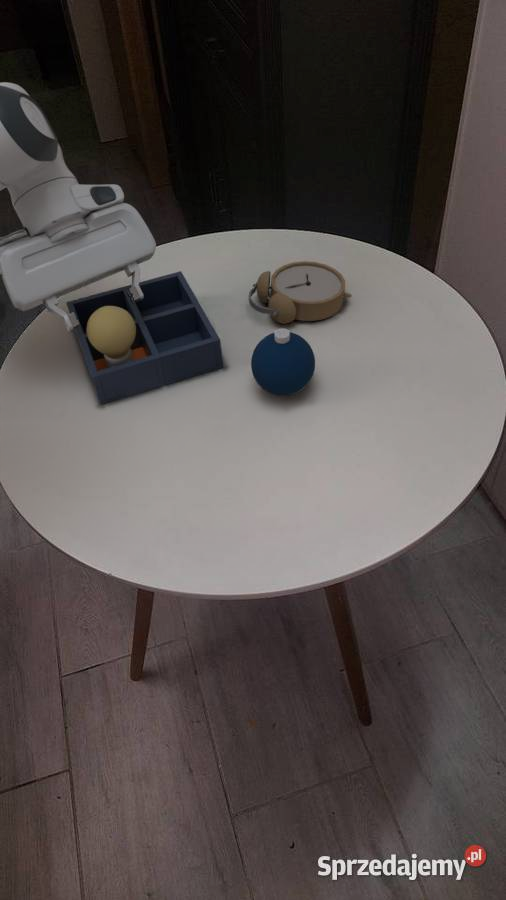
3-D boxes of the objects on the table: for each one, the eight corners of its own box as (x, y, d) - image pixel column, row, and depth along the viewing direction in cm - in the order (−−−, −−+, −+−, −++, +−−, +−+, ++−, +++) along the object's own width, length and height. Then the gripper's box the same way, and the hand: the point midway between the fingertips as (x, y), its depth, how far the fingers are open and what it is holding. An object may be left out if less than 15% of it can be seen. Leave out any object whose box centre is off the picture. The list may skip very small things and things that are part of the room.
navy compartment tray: (100, 405, 92) (92, 377, 89) (74, 329, 104) (65, 302, 100) (223, 367, 96) (220, 339, 92) (185, 298, 107) (181, 270, 103)
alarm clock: (360, 294, 100) (267, 306, 95) (353, 322, 104) (263, 335, 99) (327, 255, 107) (238, 265, 102) (321, 283, 111) (235, 293, 106)
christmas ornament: (294, 358, 96) (293, 300, 89) (326, 393, 91) (328, 334, 84) (241, 380, 94) (236, 322, 87) (272, 417, 89) (269, 359, 82)
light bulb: (152, 358, 97) (139, 300, 89) (132, 388, 93) (116, 330, 86) (112, 350, 99) (96, 293, 91) (90, 379, 95) (72, 322, 87)
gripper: (-21, 236, 82) (34, 341, 84) (130, 181, 89) (178, 279, 90) (-20, 252, 88) (32, 350, 89) (121, 199, 95) (167, 291, 96)
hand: (107, 314), depth 90 cm, fingers open, 8 cm apart
